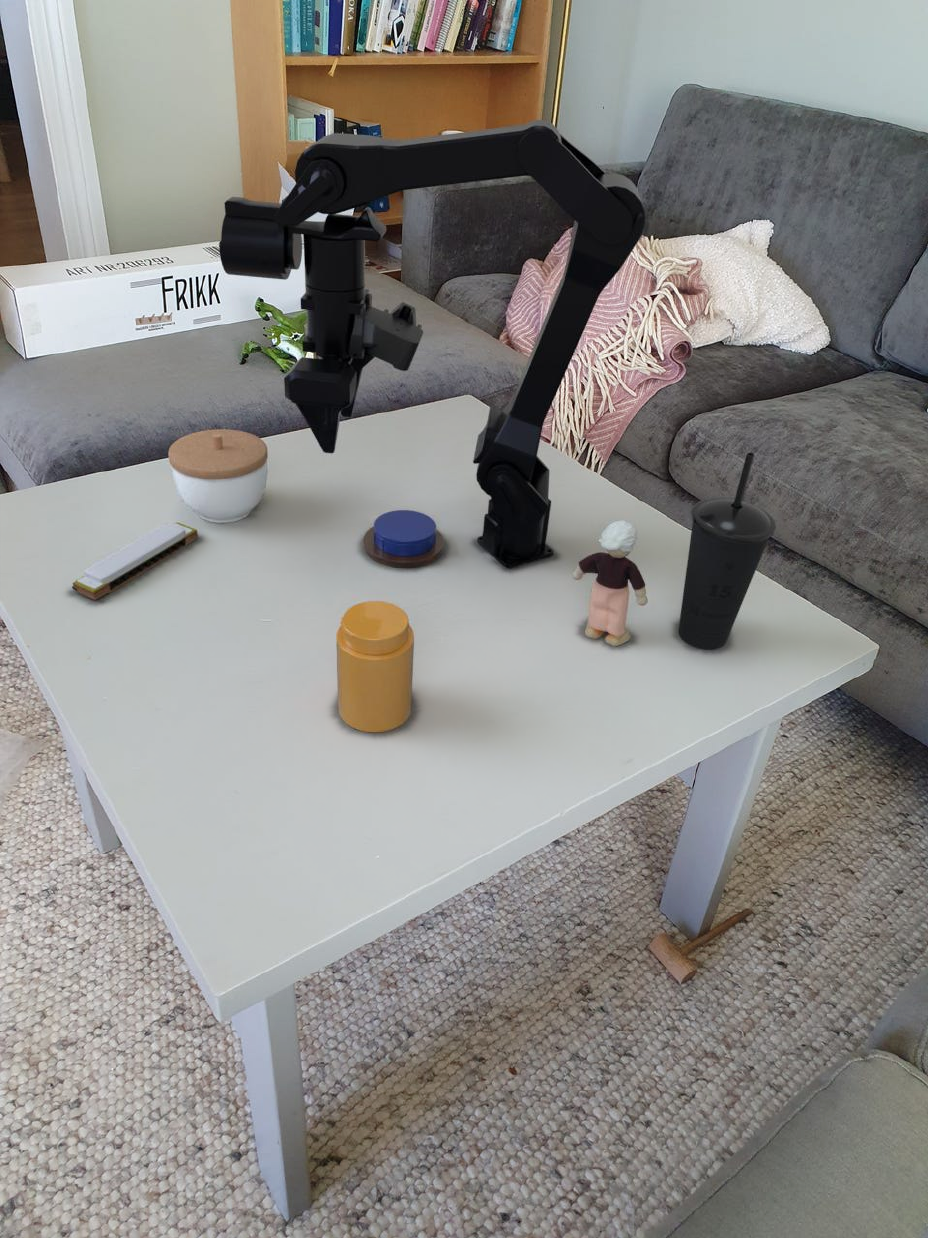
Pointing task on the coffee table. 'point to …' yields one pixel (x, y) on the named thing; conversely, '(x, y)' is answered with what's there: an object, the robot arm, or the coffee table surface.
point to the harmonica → (134, 559)
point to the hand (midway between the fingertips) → (338, 433)
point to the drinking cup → (721, 564)
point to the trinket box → (220, 473)
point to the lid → (404, 533)
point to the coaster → (402, 560)
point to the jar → (374, 666)
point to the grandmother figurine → (612, 583)
